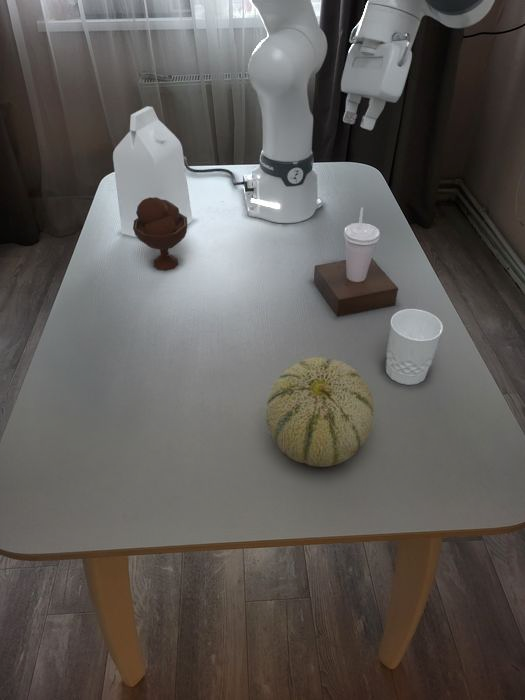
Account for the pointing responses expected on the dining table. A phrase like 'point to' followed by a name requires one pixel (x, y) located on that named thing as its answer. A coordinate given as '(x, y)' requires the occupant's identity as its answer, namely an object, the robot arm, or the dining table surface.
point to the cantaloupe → (320, 412)
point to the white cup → (412, 345)
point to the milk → (149, 168)
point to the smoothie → (359, 248)
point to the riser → (354, 288)
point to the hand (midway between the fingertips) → (356, 126)
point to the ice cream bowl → (160, 229)
